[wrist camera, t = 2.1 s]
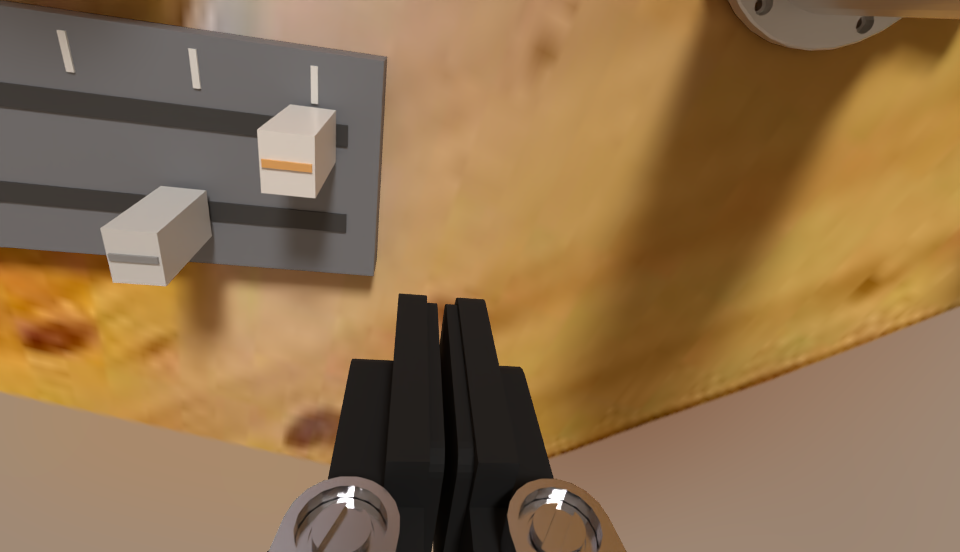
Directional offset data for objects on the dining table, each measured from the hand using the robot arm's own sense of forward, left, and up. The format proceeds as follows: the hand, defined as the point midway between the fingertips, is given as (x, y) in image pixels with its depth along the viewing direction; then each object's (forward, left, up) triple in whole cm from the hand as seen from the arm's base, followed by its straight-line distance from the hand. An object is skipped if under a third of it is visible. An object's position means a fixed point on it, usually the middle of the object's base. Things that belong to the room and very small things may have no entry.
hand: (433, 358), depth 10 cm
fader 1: (+11, +4, -16) cm, 20 cm away
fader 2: (+5, 0, -16) cm, 17 cm away
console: (+15, +2, -18) cm, 24 cm away
